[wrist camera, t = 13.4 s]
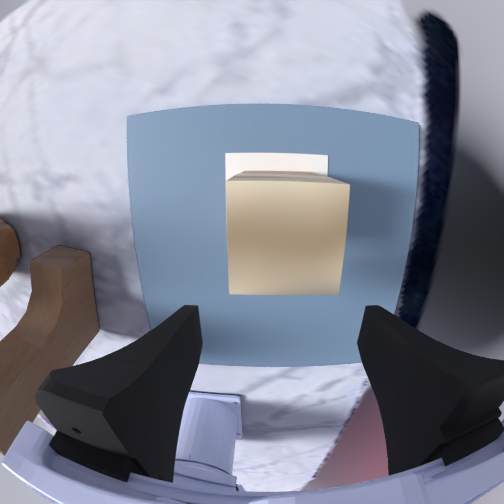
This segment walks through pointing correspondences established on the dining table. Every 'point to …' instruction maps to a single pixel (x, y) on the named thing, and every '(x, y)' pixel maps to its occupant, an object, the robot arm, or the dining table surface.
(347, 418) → the dining table surface
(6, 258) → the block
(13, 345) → the wooden block
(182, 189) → the board
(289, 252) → the maple block
